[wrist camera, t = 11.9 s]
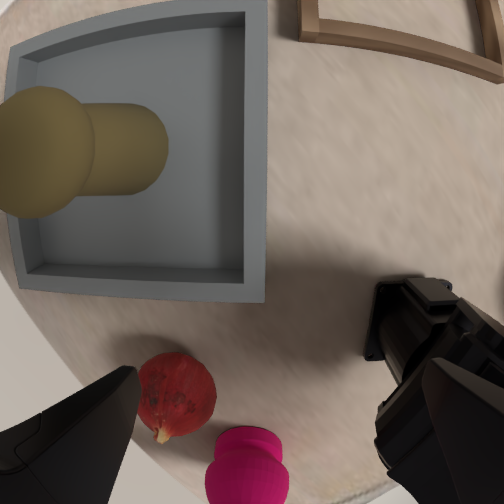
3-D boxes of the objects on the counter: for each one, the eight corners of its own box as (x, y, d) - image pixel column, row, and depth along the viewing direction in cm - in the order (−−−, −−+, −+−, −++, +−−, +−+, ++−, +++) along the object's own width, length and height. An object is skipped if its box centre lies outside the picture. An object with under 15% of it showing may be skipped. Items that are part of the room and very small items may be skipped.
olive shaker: (73, 173, 19) (-49, 200, 9) (107, 91, 18) (-9, 56, 7) (145, 211, 20) (42, 269, 9) (185, 124, 18) (100, 94, 8)
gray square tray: (264, 283, 22) (264, 303, 19) (40, 274, 22) (19, 288, 19) (266, 14, 16) (267, -6, 14) (33, 54, 17) (10, 47, 14)
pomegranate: (140, 336, 23) (99, 403, 16) (211, 328, 23) (190, 403, 15) (163, 392, 25) (136, 463, 17) (228, 388, 24) (218, 465, 17)
